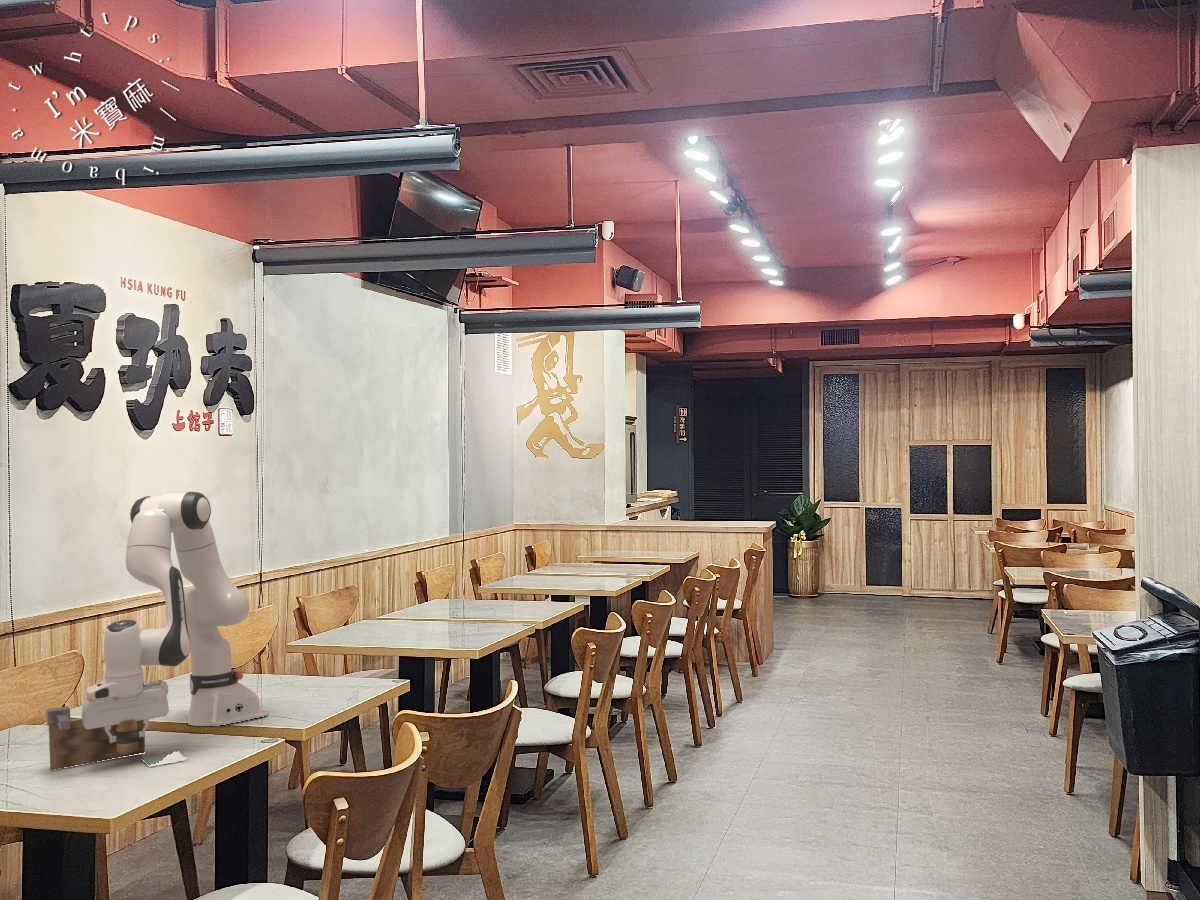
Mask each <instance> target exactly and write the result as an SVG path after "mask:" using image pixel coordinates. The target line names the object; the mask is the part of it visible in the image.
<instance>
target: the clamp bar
mask: <svg viewBox="0 0 1200 900" xmlns="http://www.w3.org/2000/svg"><path fill="white" fill-rule="evenodd" d="M70 720H71V708H70V707H69V706H62V707H53V708H48V709H47V708H46V709H45V722H46V723H47V725H49V724H52V723H56V724H57V726H58V727H59V728H60V729H61V730H64V729H70Z"/></svg>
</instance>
